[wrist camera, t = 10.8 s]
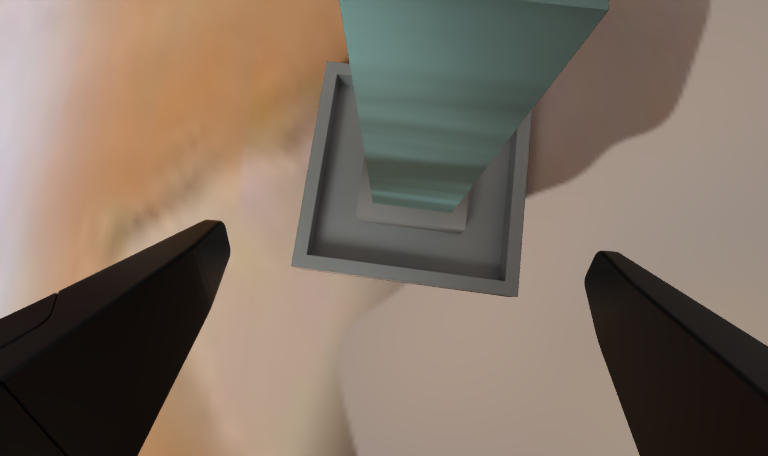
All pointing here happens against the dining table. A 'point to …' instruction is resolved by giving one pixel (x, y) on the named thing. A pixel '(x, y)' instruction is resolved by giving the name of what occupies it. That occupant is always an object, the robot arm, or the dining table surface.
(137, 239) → the dining table surface
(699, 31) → the dining table surface
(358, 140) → the tray
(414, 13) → the teal green tall block
